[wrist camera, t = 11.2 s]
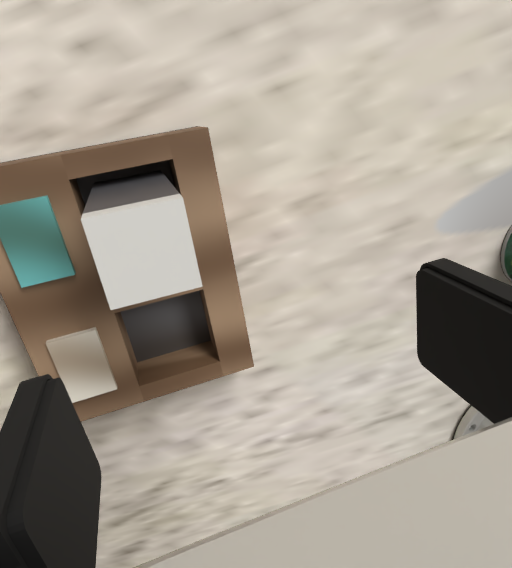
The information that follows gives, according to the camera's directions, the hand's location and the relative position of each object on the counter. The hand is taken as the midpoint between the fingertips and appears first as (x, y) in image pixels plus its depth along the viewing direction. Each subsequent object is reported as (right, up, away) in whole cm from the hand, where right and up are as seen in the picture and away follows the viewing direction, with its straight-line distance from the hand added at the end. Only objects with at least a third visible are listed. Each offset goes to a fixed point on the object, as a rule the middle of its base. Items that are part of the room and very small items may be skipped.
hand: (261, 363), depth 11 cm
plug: (-8, +7, +16) cm, 19 cm away
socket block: (-9, +3, +17) cm, 20 cm away
